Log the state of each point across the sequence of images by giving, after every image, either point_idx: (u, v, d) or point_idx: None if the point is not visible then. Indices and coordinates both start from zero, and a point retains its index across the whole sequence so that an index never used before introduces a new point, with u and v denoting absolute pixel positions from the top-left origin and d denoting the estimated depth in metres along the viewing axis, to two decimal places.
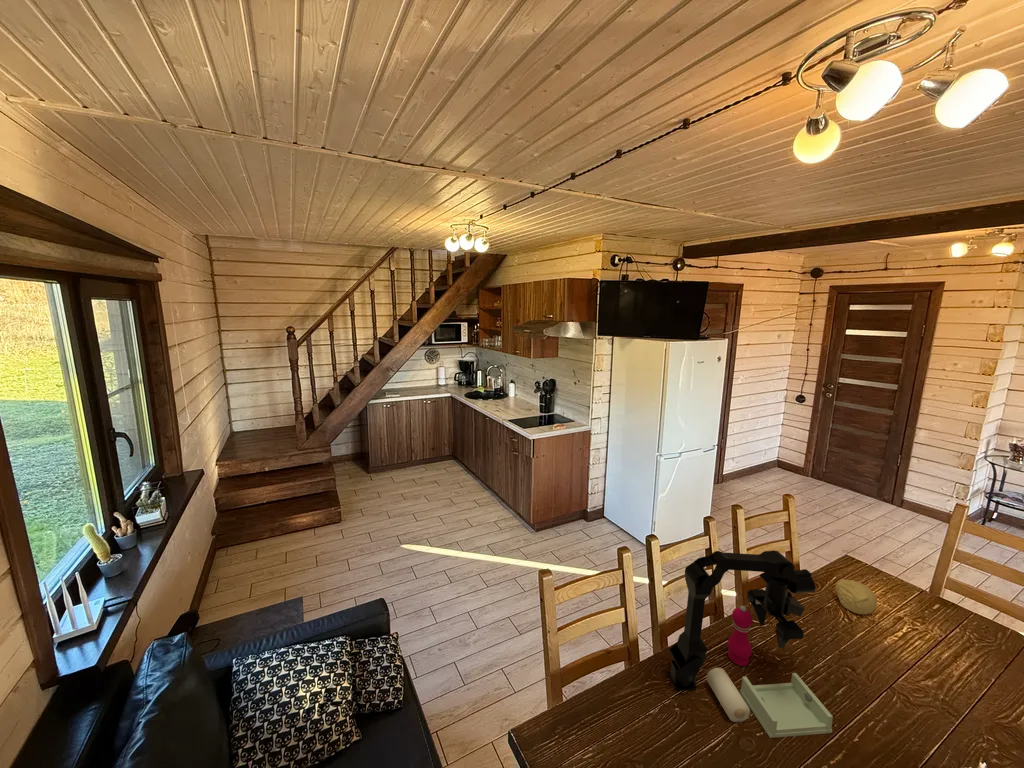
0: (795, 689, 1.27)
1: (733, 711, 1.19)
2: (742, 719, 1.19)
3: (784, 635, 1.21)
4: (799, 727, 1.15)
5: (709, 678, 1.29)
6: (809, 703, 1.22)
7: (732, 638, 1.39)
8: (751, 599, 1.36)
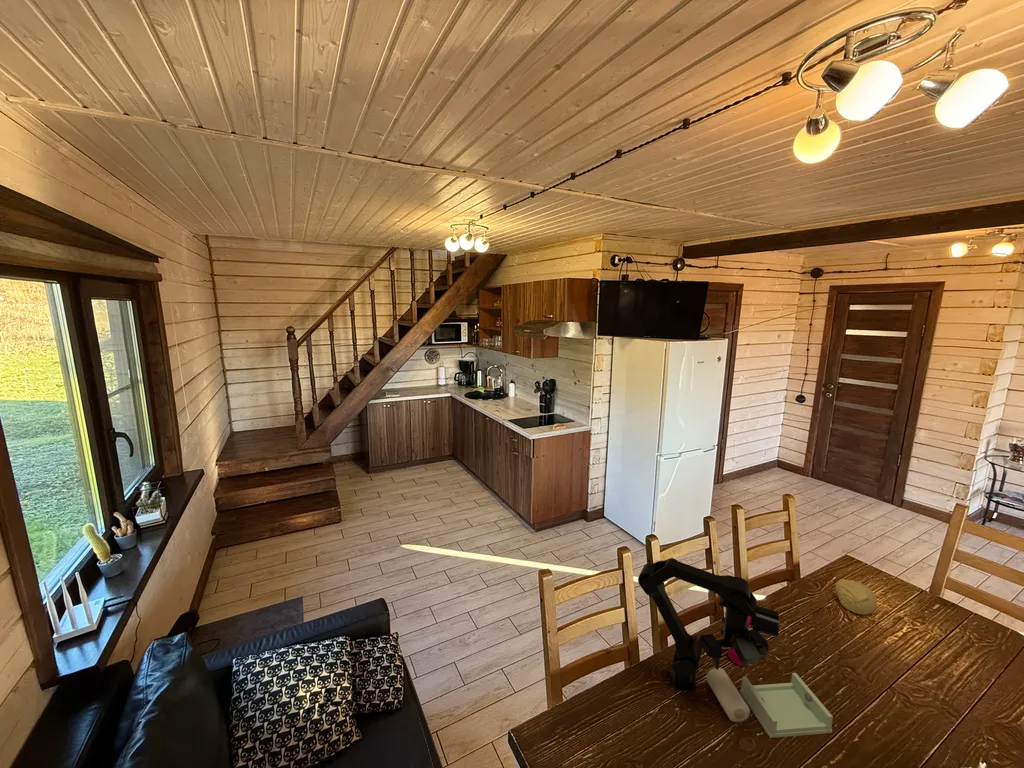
0: (795, 689, 1.27)
1: (733, 711, 1.19)
2: (742, 719, 1.19)
3: None
4: (799, 727, 1.15)
5: (709, 678, 1.29)
6: (809, 703, 1.22)
7: None
8: None
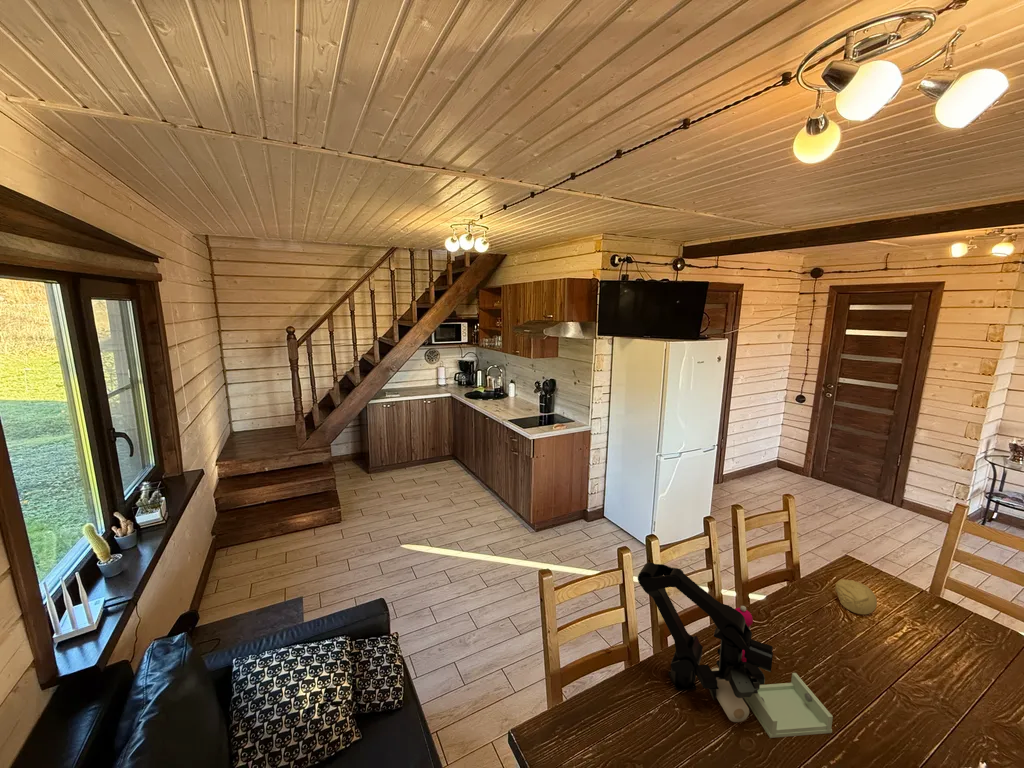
0: (795, 689, 1.27)
1: (732, 711, 1.19)
2: (742, 719, 1.19)
3: None
4: (799, 727, 1.15)
5: None
6: (809, 703, 1.22)
7: None
8: None
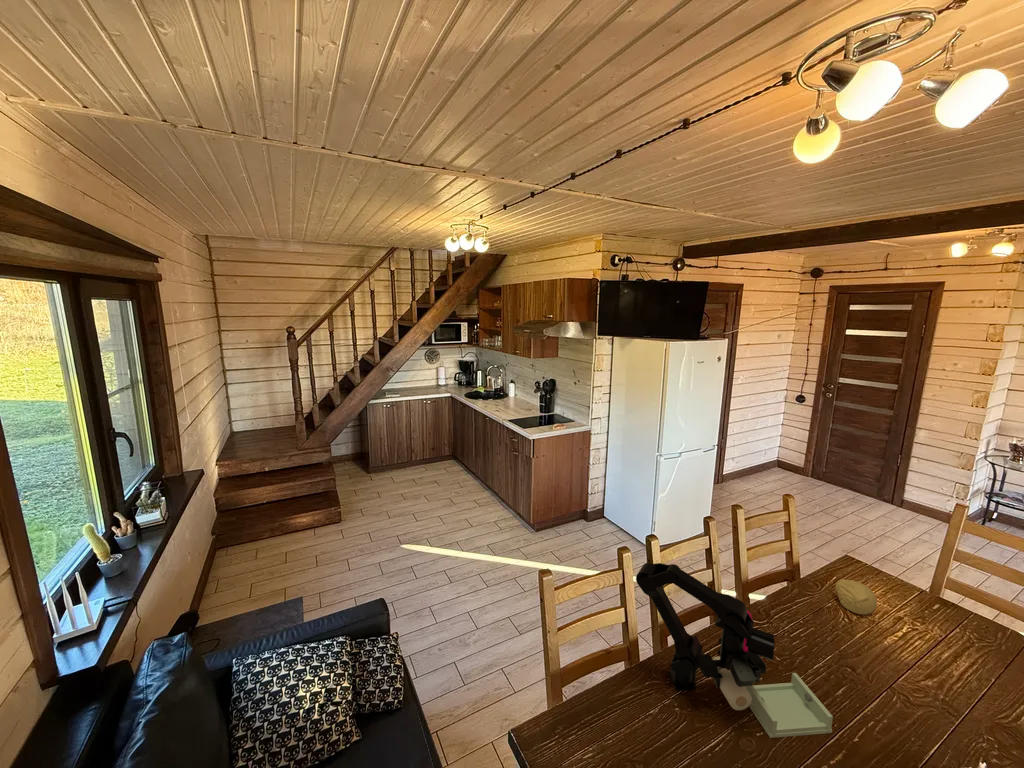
0: (795, 689, 1.27)
1: (735, 699, 1.18)
2: (744, 707, 1.18)
3: None
4: (799, 727, 1.15)
5: None
6: (809, 703, 1.22)
7: None
8: None
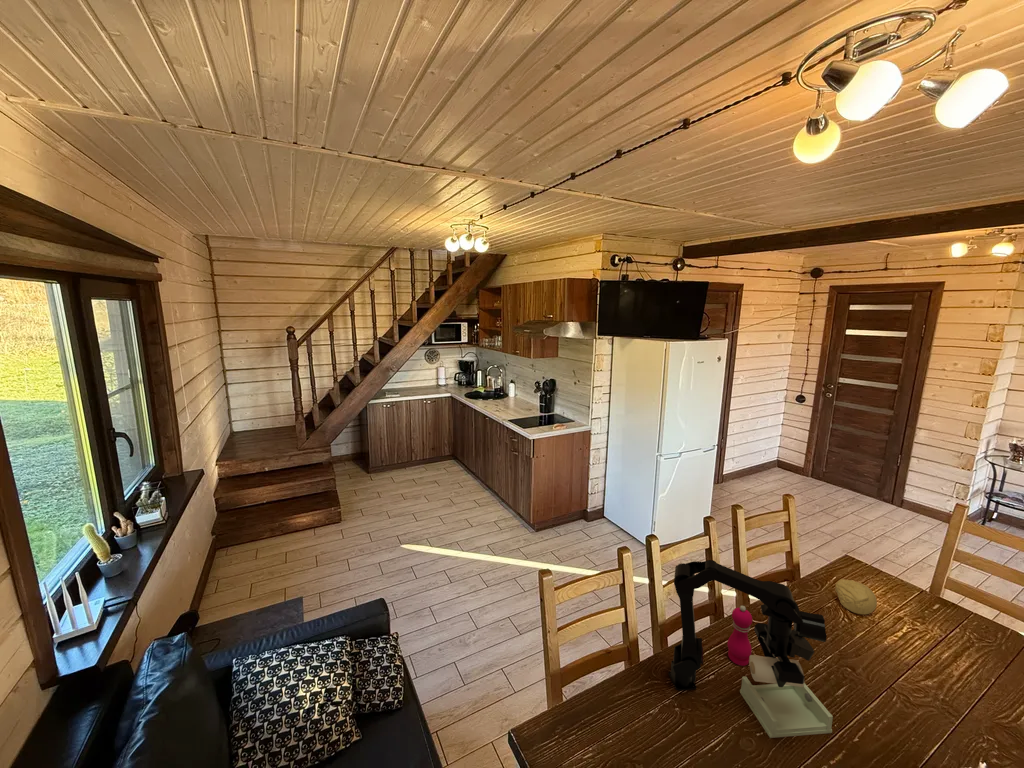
0: (795, 689, 1.27)
1: None
2: None
3: (779, 676, 1.11)
4: (799, 727, 1.15)
5: (763, 674, 1.18)
6: (809, 703, 1.22)
7: (732, 638, 1.39)
8: (757, 633, 1.26)
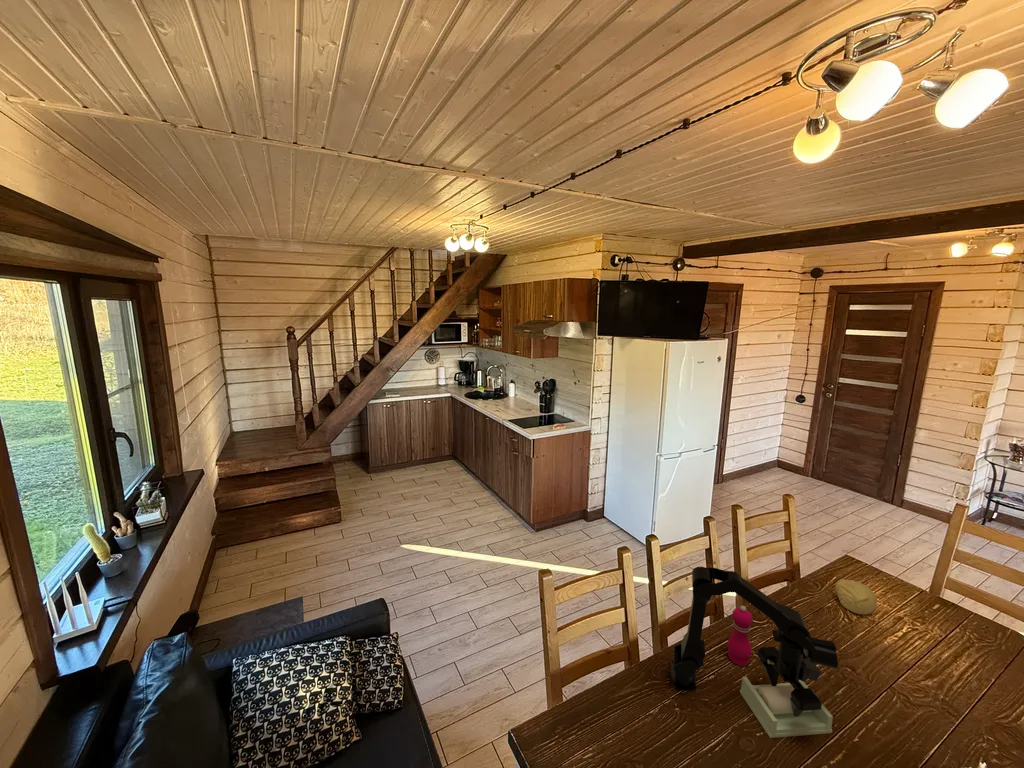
0: None
1: None
2: None
3: (800, 706, 1.11)
4: (799, 727, 1.15)
5: (777, 707, 1.18)
6: None
7: (733, 638, 1.39)
8: (762, 659, 1.26)
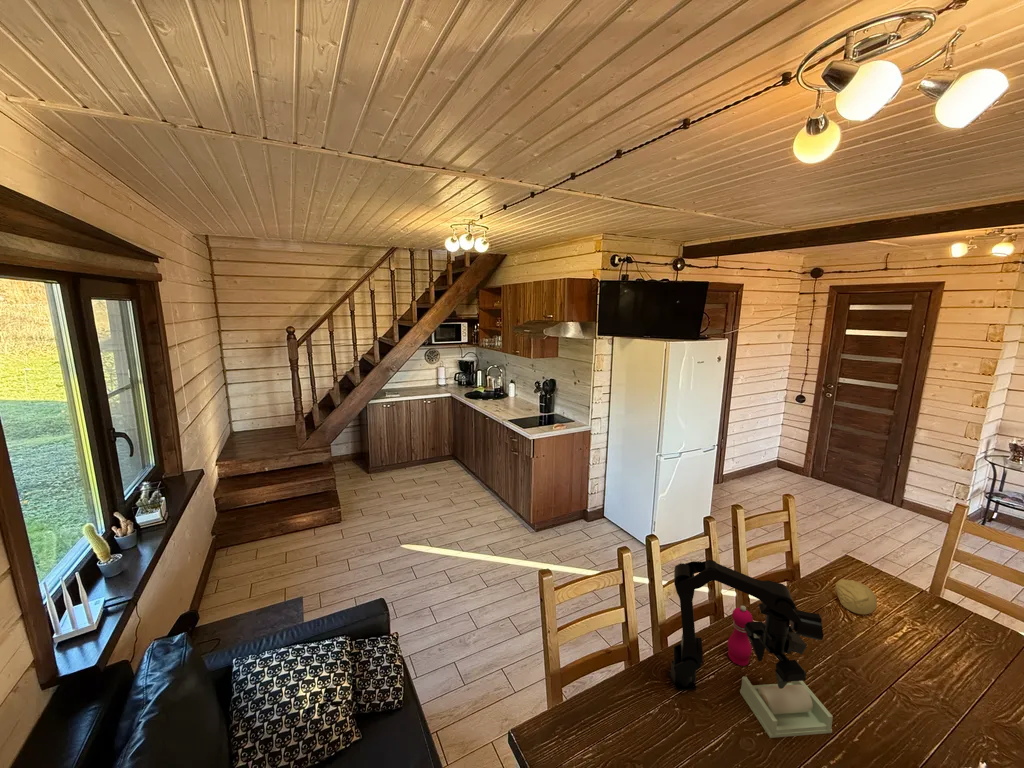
0: None
1: None
2: None
3: (785, 677, 1.12)
4: (799, 727, 1.15)
5: (777, 707, 1.18)
6: None
7: (733, 638, 1.39)
8: (749, 633, 1.27)
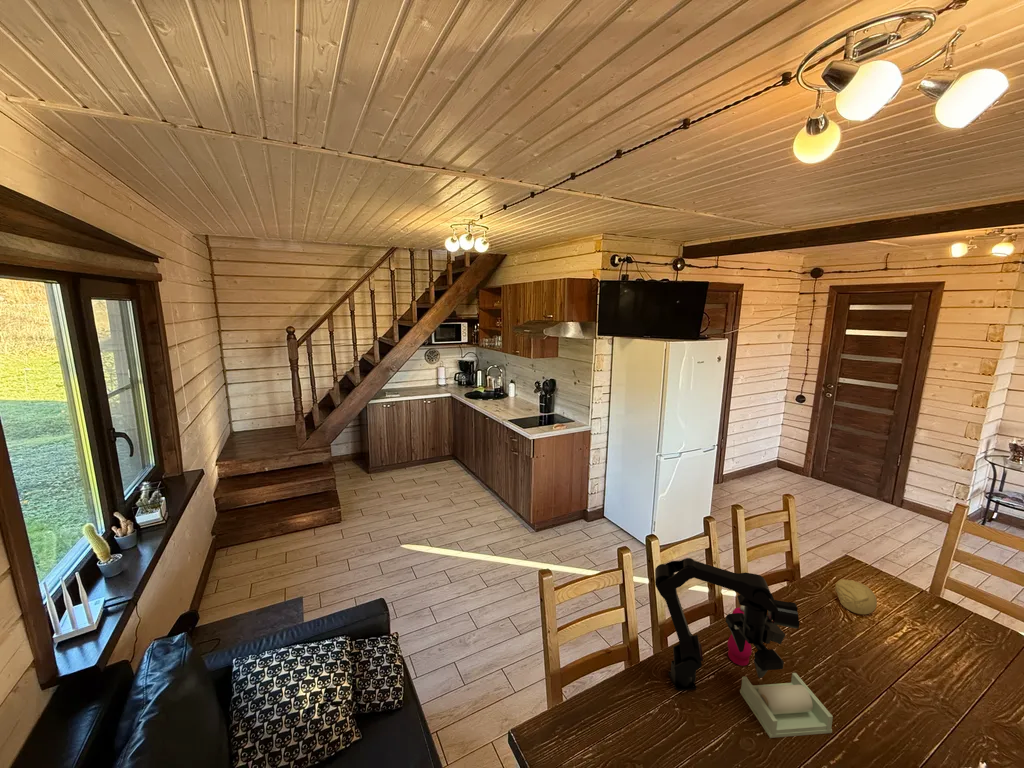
0: None
1: None
2: None
3: (762, 665, 1.14)
4: (799, 727, 1.15)
5: (777, 707, 1.18)
6: None
7: (732, 638, 1.39)
8: (730, 624, 1.29)
